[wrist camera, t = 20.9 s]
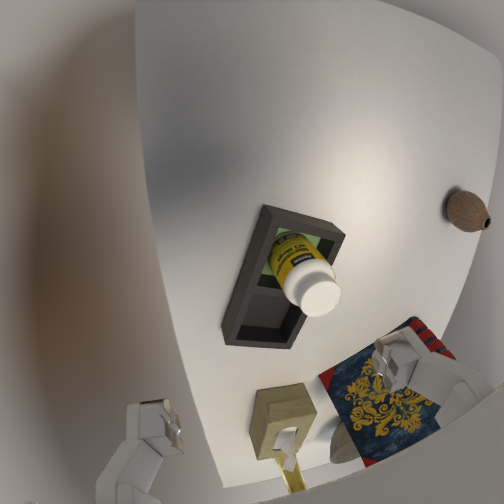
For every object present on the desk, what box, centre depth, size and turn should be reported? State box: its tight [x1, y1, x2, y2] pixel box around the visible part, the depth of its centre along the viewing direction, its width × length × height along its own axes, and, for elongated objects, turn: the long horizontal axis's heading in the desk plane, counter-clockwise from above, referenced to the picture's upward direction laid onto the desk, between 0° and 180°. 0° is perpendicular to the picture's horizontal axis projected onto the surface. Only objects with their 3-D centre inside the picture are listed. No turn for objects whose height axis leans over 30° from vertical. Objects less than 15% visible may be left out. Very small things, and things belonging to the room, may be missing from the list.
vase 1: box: [275, 453, 307, 494], centre depth 69 cm, size 6×6×14 cm
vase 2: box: [446, 191, 491, 232], centre depth 42 cm, size 7×7×9 cm
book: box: [319, 317, 459, 467], centre depth 48 cm, size 25×7×25 cm, turn 116°
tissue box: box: [249, 383, 317, 472], centre depth 53 cm, size 19×10×16 cm, turn 175°
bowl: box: [330, 422, 360, 464], centre depth 68 cm, size 19×19×10 cm
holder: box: [221, 205, 346, 349], centre depth 41 cm, size 20×10×4 cm, turn 162°
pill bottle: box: [267, 232, 341, 317], centre depth 36 cm, size 6×6×11 cm
